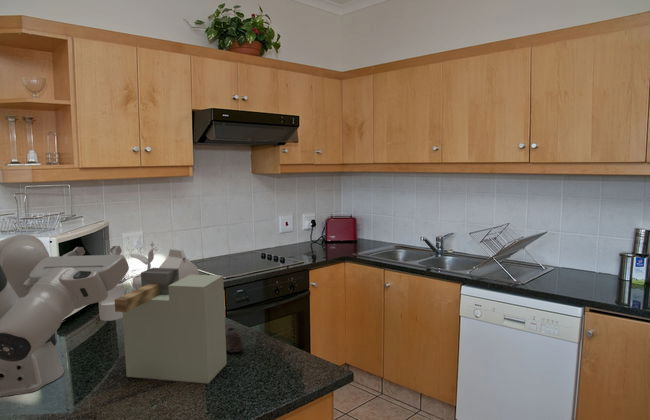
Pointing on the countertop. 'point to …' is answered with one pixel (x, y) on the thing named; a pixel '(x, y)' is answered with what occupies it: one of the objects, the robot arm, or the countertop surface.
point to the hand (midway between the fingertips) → (99, 248)
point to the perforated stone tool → (232, 339)
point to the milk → (180, 263)
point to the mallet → (148, 288)
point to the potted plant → (146, 261)
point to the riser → (178, 332)
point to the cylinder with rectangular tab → (111, 304)
